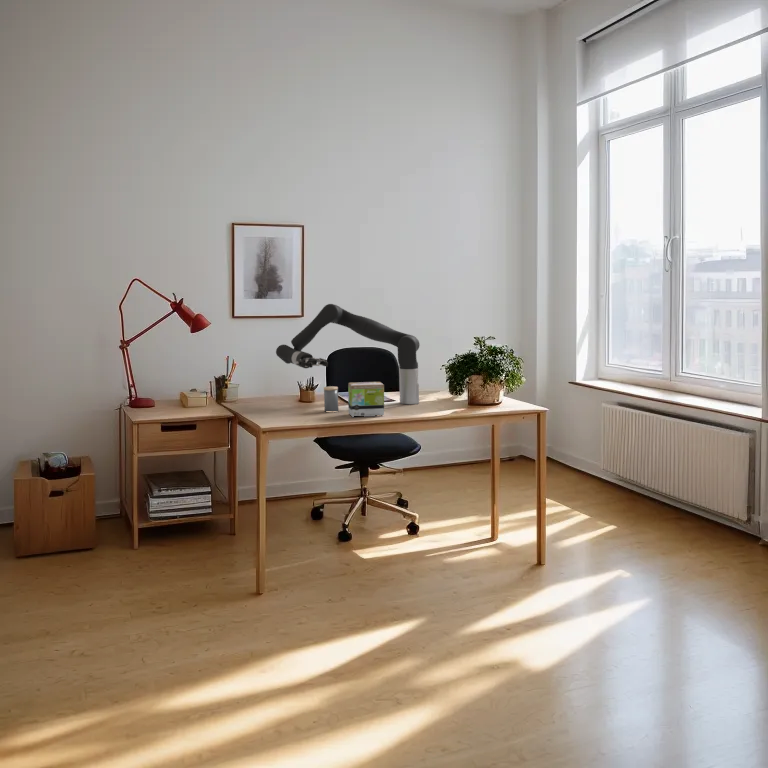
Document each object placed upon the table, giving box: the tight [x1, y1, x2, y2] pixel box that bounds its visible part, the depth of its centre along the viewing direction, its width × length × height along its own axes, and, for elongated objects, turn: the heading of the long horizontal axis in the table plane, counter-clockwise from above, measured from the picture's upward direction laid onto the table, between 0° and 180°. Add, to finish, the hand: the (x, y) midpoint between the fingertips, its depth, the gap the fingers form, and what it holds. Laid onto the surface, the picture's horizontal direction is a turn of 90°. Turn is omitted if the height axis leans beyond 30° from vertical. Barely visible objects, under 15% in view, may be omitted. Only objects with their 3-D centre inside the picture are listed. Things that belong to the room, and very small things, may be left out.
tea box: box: [347, 381, 385, 418], centre depth 364 cm, size 15×10×15 cm
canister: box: [323, 385, 339, 412], centre depth 376 cm, size 7×7×11 cm
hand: (319, 364), depth 380 cm, fingers open, 8 cm apart
